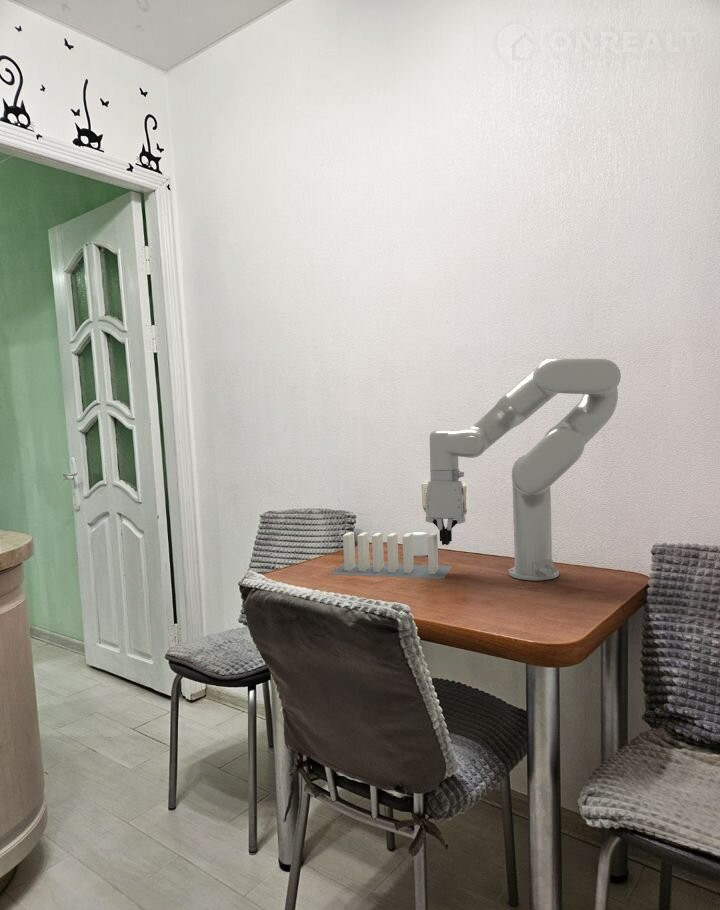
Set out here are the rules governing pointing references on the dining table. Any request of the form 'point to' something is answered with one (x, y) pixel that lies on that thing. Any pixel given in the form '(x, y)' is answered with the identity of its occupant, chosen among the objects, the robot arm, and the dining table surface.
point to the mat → (417, 572)
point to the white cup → (420, 543)
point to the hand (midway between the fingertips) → (445, 543)
